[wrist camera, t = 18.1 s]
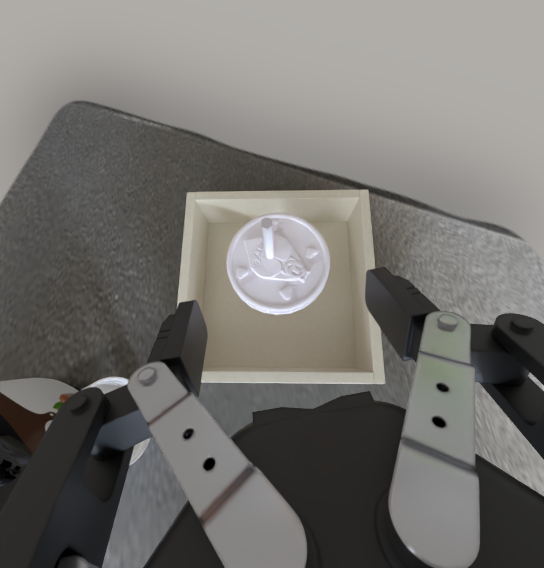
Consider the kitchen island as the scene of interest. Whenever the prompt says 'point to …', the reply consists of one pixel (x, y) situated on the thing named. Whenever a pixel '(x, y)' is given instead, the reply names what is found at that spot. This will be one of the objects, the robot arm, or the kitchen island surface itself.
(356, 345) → the wooden tray
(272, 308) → the smoothie
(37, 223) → the kitchen island surface
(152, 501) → the kitchen island surface
